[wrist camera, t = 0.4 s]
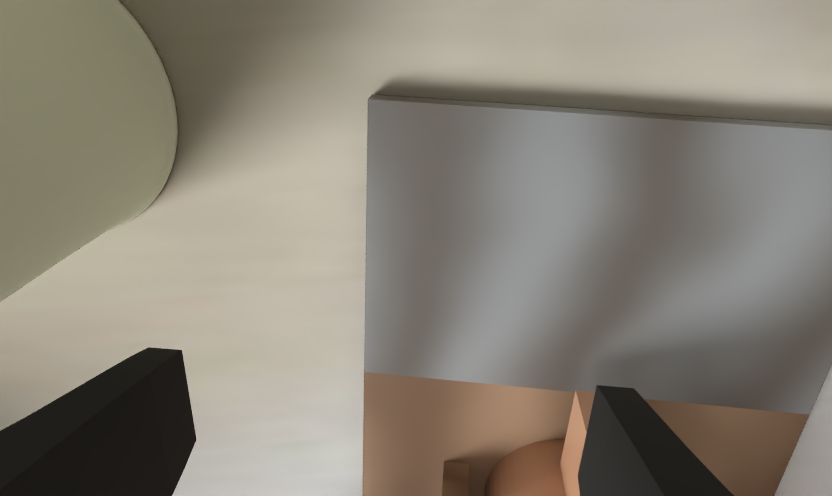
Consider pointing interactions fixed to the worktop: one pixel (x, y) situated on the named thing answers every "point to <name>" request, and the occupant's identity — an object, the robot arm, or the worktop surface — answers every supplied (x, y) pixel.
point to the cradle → (589, 284)
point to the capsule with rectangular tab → (545, 460)
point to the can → (76, 129)
